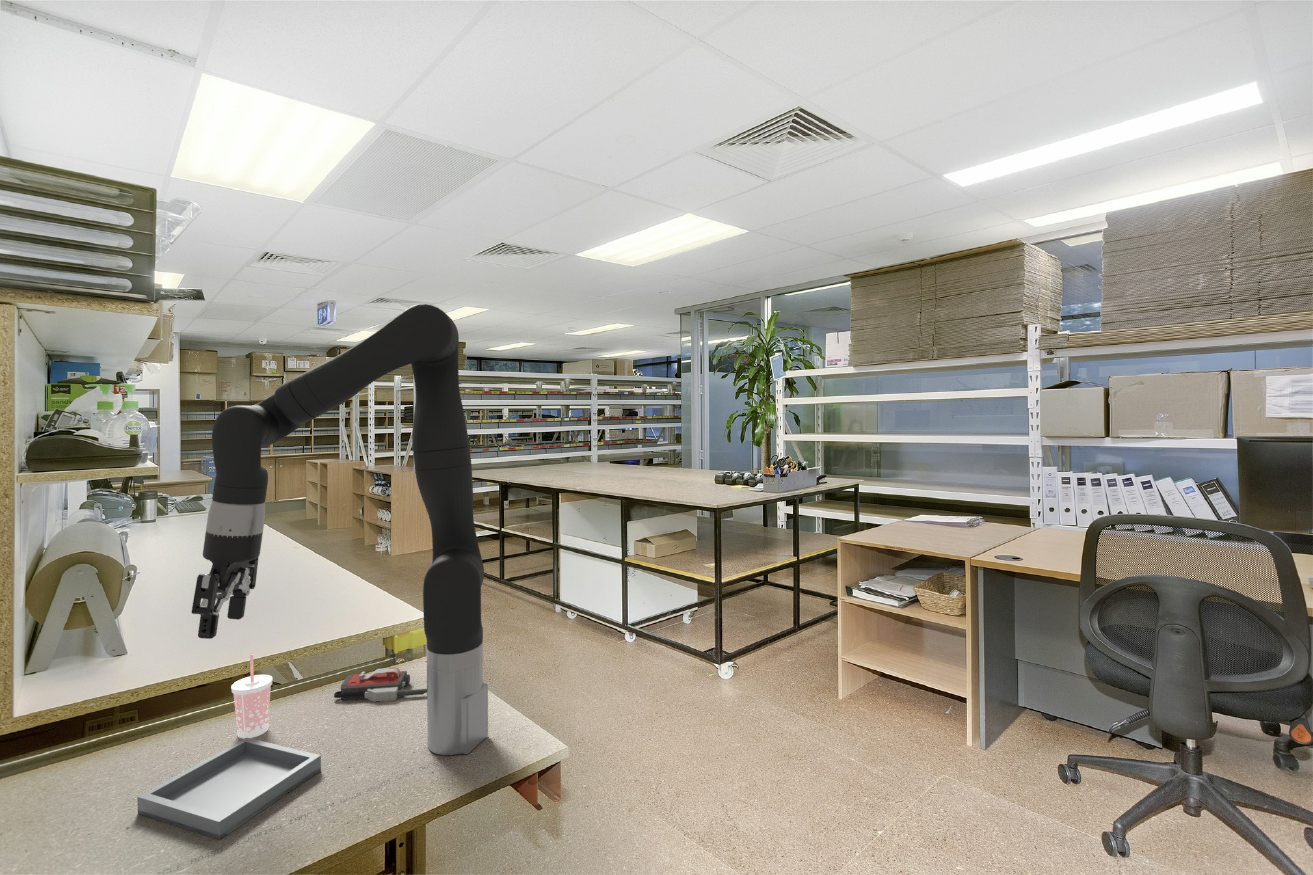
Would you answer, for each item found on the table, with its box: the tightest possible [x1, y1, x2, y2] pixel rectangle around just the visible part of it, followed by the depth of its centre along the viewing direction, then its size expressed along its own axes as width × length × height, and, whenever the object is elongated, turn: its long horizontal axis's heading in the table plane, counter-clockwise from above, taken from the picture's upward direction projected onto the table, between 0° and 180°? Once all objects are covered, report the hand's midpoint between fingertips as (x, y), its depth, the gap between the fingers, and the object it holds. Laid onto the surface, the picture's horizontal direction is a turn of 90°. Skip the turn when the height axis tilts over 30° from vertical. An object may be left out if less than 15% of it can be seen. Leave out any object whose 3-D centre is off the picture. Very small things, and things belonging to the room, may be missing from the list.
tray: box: [136, 737, 322, 841], centre depth 88 cm, size 16×16×2 cm
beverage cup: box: [230, 653, 274, 739], centre depth 104 cm, size 6×6×14 cm
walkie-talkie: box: [333, 667, 427, 703], centre depth 120 cm, size 9×4×20 cm
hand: (221, 627), depth 94 cm, fingers open, 8 cm apart
